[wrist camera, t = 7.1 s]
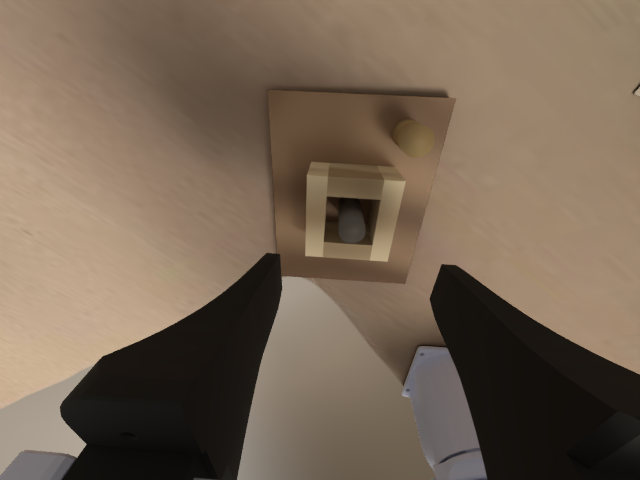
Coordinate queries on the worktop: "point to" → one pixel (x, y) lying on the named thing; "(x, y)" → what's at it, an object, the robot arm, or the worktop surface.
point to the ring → (352, 183)
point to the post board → (360, 149)
